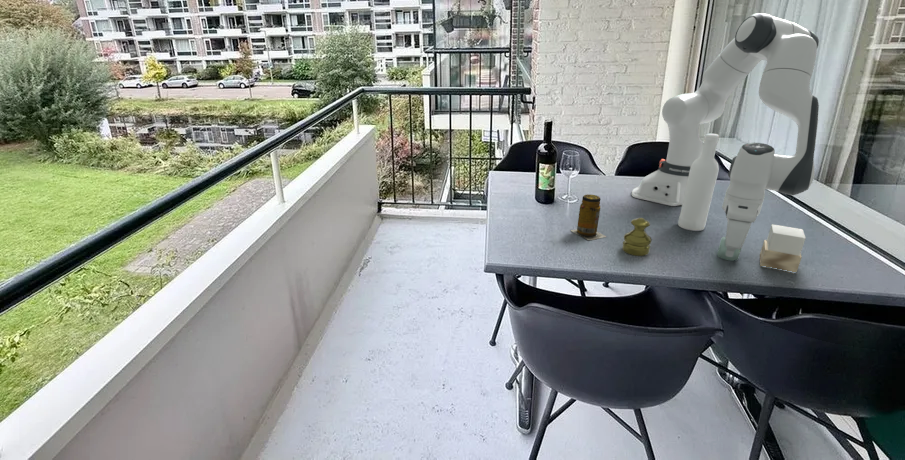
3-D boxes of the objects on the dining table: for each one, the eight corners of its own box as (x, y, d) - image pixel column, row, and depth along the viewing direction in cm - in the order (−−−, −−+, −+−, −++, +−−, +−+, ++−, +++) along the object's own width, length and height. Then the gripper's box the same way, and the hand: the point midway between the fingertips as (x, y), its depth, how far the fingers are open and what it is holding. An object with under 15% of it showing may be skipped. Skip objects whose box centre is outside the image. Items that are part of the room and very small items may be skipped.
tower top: (767, 250, 122) (773, 232, 120) (766, 240, 127) (771, 224, 125) (799, 256, 118) (805, 238, 116) (797, 246, 124) (802, 229, 122)
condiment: (587, 227, 147) (592, 192, 143) (606, 237, 140) (612, 200, 136) (569, 231, 144) (574, 195, 140) (588, 241, 137) (593, 203, 133)
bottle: (704, 224, 150) (727, 133, 138) (704, 233, 144) (727, 138, 132) (678, 220, 154) (698, 130, 142) (676, 228, 147) (697, 135, 136)
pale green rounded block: (716, 257, 128) (721, 241, 126) (717, 251, 132) (721, 235, 130) (738, 262, 125) (742, 245, 123) (738, 255, 129) (742, 239, 127)
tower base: (760, 266, 123) (765, 250, 121) (759, 255, 130) (764, 239, 128) (795, 274, 120) (801, 257, 118) (793, 262, 126) (799, 246, 124)
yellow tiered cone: (653, 256, 128) (660, 223, 124) (628, 257, 128) (634, 223, 124) (641, 245, 135) (647, 213, 131) (617, 245, 134) (622, 214, 131)
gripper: (729, 192, 132) (718, 236, 138) (727, 214, 116) (714, 262, 121) (755, 196, 129) (742, 240, 135) (756, 218, 113) (742, 268, 118)
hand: (729, 251), depth 128 cm, fingers closed on pale green rounded block, 5 cm apart
